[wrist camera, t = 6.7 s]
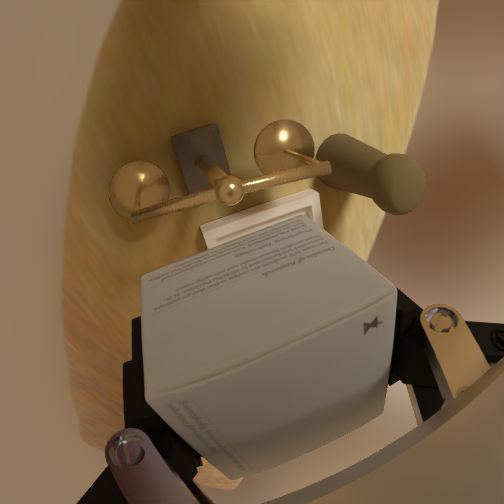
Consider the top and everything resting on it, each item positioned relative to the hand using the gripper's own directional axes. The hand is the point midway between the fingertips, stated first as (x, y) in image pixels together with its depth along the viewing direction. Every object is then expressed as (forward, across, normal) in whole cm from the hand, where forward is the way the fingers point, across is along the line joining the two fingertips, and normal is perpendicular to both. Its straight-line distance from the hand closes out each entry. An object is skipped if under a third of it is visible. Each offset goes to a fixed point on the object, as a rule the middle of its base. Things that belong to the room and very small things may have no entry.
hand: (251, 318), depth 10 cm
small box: (+1, 0, 0) cm, 1 cm away
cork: (+20, -16, +2) cm, 26 cm away
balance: (+20, -2, -2) cm, 20 cm away
